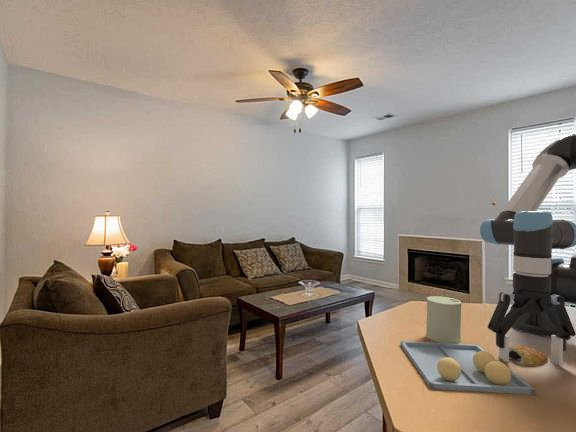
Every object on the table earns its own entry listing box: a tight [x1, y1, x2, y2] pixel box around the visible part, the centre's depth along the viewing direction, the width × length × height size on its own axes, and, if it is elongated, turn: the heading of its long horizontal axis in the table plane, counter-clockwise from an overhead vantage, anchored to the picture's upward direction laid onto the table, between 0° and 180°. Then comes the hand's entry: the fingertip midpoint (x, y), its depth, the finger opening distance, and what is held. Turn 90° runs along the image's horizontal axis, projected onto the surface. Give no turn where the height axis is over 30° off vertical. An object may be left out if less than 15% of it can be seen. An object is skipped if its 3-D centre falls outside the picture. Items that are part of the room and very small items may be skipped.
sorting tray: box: [400, 340, 536, 396], centre depth 74 cm, size 20×22×2 cm
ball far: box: [437, 357, 461, 381], centre depth 68 cm, size 5×5×5 cm
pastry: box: [509, 345, 549, 367], centre depth 79 cm, size 9×7×4 cm
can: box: [425, 295, 463, 344], centre depth 92 cm, size 9×9×12 cm
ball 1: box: [473, 350, 497, 373], centre depth 71 cm, size 5×5×5 cm
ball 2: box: [485, 360, 511, 385], centre depth 66 cm, size 5×5×5 cm
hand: (530, 362), depth 78 cm, fingers open, 12 cm apart
